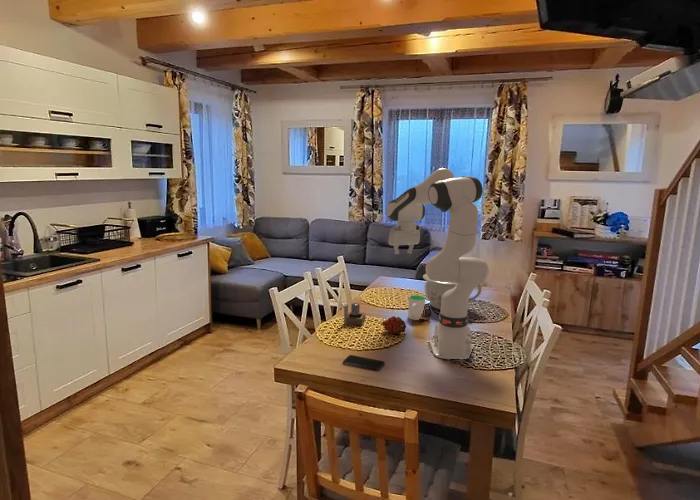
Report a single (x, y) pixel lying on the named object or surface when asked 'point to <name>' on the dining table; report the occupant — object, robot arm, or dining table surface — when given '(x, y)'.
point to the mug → (416, 306)
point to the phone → (364, 363)
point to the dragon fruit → (394, 325)
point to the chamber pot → (440, 291)
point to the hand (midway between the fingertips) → (403, 253)
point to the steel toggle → (355, 310)
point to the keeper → (353, 320)
